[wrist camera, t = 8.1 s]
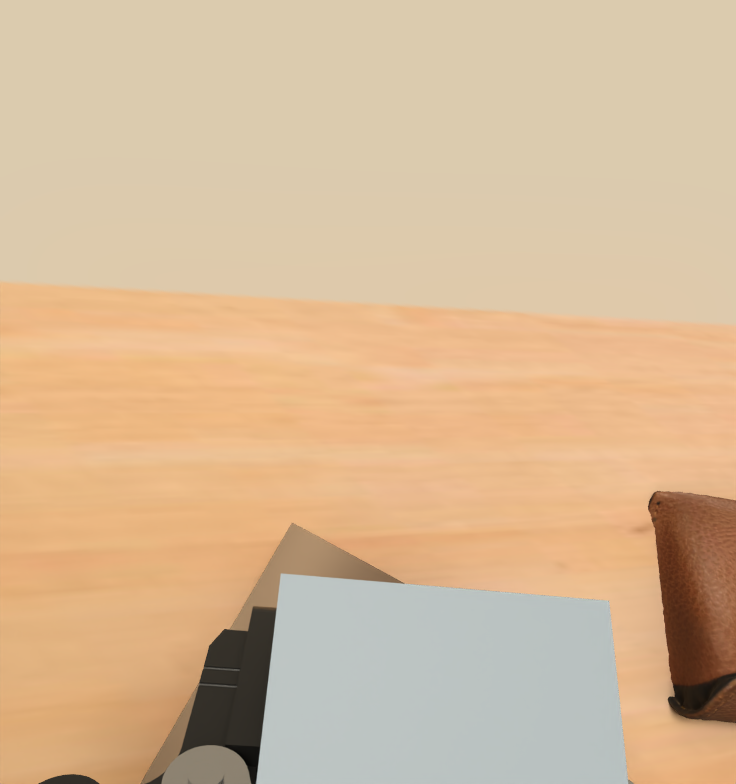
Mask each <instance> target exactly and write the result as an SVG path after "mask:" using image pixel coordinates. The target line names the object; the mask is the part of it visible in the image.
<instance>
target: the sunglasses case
mask: <svg viewBox="0 0 736 784" xmlns="http://www.w3.org/2000/svg"><path fill="white" fill-rule="evenodd" d="M648 509H649V512H650V514H651V517H652V522H653V524H654V527H655V534H656V545H657V553H658V564H659V573H660V577H659V578H660V584H661V591H662V603H663V607H664V610H663V615H664V622H665V633H666V638H667V647H668V652H669V667H670V672H671V680H672V683H673V687H674V691H675V697H669V698H668V702H669V704H670V705H671V706H672V708H673V709H675V710H676V711H677V713H678V714H679V715H682V716H684V717H686V718H689V719H702V720H717V721H723V722H734V723H736V501H735V500H730V499H724V498H719V497H718V498H717V497H711V496H707V495H696V494H691V493H683V492H661V491H657V492H655V493H654V494H653V496H652V498H651V499H650V501H649V506H648Z"/></svg>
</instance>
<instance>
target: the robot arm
mask: <svg viewBox="0 0 736 784" xmlns="http://www.w3.org/2000/svg"><path fill="white" fill-rule="evenodd" d="M276 610H277V608H275V607H262V606H253V608H252V613H251V618H250V623H249V628H248V631H240V630H227V629H224V630H223V631H222V633H221V634H220V635H219V636H218V637H217V638H216V639H215V640H214V641H213V642H212V644H211V645H210V646H209V649H208V653H207V657H206V660H205V664H204V669H203V671H202V675H201V679H200V682H199V686H198V689H197V693H196V697H195V700H194V704H193V708H192V711H191V715H190V719H189V722H188V726H187V729H186V733H185V737H184V740H183V744H182V748H181V750H180V753H179V755H178V757H177V758H175V759H174V760H173V762H172V763H171V764H170V765H169V766H168V768H167V769H166V771H165V772H164V773H163V774H161V775H160V776H159V777H157V778H156V779H154V780H152V781H150V782H148V783H146V784H256V781H257V772H258V764H259V755H260V747H261V738H262V730H263V721H264V713H265V704H266V695H267V687H268V678H269V670H270V661H271V653H272V644H273V636H274V627H275V619H276ZM39 784H99V783H98V782H96V781H95V780H94V779H91V778H89V777H87V776H83V775H74V774H71V775H62V776H57V777H53V778H50V779H48V780H45V781H43V782H41V783H39ZM628 784H633V783H632V782H631V781H630V780H628Z"/></svg>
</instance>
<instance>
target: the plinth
mask: <svg viewBox="0 0 736 784" xmlns="http://www.w3.org/2000/svg"><path fill="white" fill-rule="evenodd" d="M281 573H282V574H293V575H305V576H317V577H329V578H341V579H353V580H365V581H377V582H389V583H401V584H404V583H403V582H401V581H399V580H397V579H395V578H393V577H392V576H390V575H388V574H386V573H384V572H382V571H381V570H379V569H377V568H375V567H373V566H371V565H369V564H368V563H366V562H364V561H362V560H360V559H358V558H357V557H355V556H353V555H351V554H349V553H347V552H345V551H344V550H342V549H340V548H338V547H336V546H334V545H333V544H331V543H329V542H327V541H325V540H323V539H321V538H320V537H318V536H316V535H314V534H312V533H310V532H309V531H307V530H305V529H303V528H301V527H299V526H297V525H296V524H294V523H292V524H291V525H290V527H289V529H288V531H287V532H286V534H285V536H284V538H283V539H282V541H281V543H280V544H279V546H278V548H277V550H276V551H275V553H274V555H273V556H272V558H271V560H270V562H269V563H268V565H267V567H266V569H265V570H264V572H263V574H262V575H261V577H260V579H259V581H258V582H257V584H256V586H255V587H254V589H253V591H252V593H251V594H250V596H249V598H248V599H247V601H246V603H245V605H244V606H243V608H242V610H241V612H240V613H239V615H238V617H237V618H236V620H235V622H234V624H233V625H232V627H231V629H230V630H240V631H248V628H249V623H250V618H251V613H252V608H253V606H262V607H275V608H277V602H278V593H279V585H280V576H281ZM198 686H199V684H198ZM198 686H197V687H196V689H195V691H194V692H193V694H192V696H191V698H190V699H189V701H188V703H187V704H186V706H185V708H184V710H183V711H182V713H181V715H180V717H179V718H178V720H177V722H176V723H175V725H174V727H173V729H172V730H171V732H170V734H169V735H168V737H167V739H166V741H165V742H164V744H163V746H162V747H161V749H160V751H159V753H158V754H157V756H156V758H155V760H154V761H153V763H152V765H151V766H150V768H149V770H148V772H147V773H146V775H145V777H144V778H143V780H142V782H141V784H146V783H148V782H150V781H152V780H154V779H156V778H157V777H159V776H160V775H161V774H163V773H164V772H165V771H166V769H167V768H168V766H169V765H170V764H171V763H172V762H173V760H174V759H175V758H177V757H178V755H179V753H180V750H181V748H182V744H183V740H184V737H185V733H186V729H187V726H188V722H189V719H190V715H191V711H192V708H193V704H194V700H195V697H196V693H197V689H198Z"/></svg>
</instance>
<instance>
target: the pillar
mask: <svg viewBox="0 0 736 784" xmlns="http://www.w3.org/2000/svg"><path fill="white" fill-rule="evenodd" d="M256 784H628V776H627V766H626V757H625V748H624V738H623V729H622V719H621V710H620V700H619V691H618V681H617V672H616V662H615V653H614V643H613V634H612V624H611V615H610V605H609V601H605V600H593V599H581V598H569V597H557V596H545V595H533V594H521V593H509V592H497V591H485V590H473V589H461V588H449V587H437V586H425V585H413V584H401V583H389V582H377V581H365V580H353V579H341V578H329V577H317V576H305V575H293V574H282V573H281V576H280V585H279V593H278V602H277V610H276V619H275V627H274V636H273V644H272V653H271V661H270V670H269V678H268V687H267V695H266V704H265V713H264V721H263V730H262V738H261V747H260V755H259V764H258V772H257V781H256Z"/></svg>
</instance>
